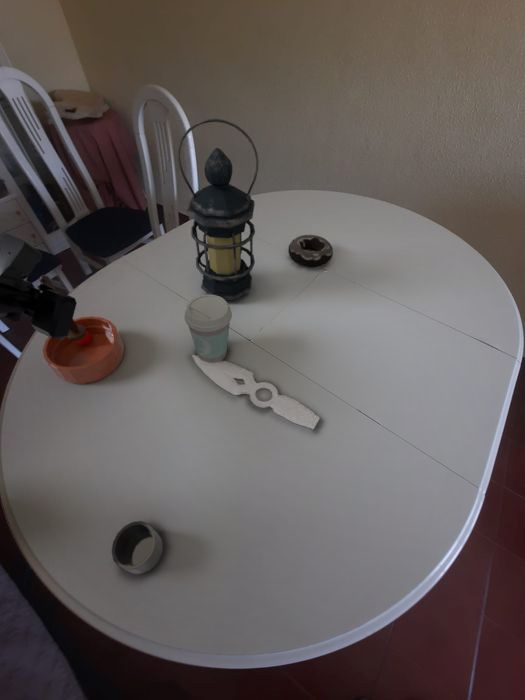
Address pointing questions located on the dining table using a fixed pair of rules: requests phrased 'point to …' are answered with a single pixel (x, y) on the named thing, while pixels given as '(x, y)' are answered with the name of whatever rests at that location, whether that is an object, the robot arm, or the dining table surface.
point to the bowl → (86, 352)
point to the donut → (313, 258)
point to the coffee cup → (209, 326)
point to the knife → (280, 404)
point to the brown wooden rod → (75, 330)
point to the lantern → (222, 225)
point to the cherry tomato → (85, 339)
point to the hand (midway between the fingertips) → (68, 303)
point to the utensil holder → (137, 547)
